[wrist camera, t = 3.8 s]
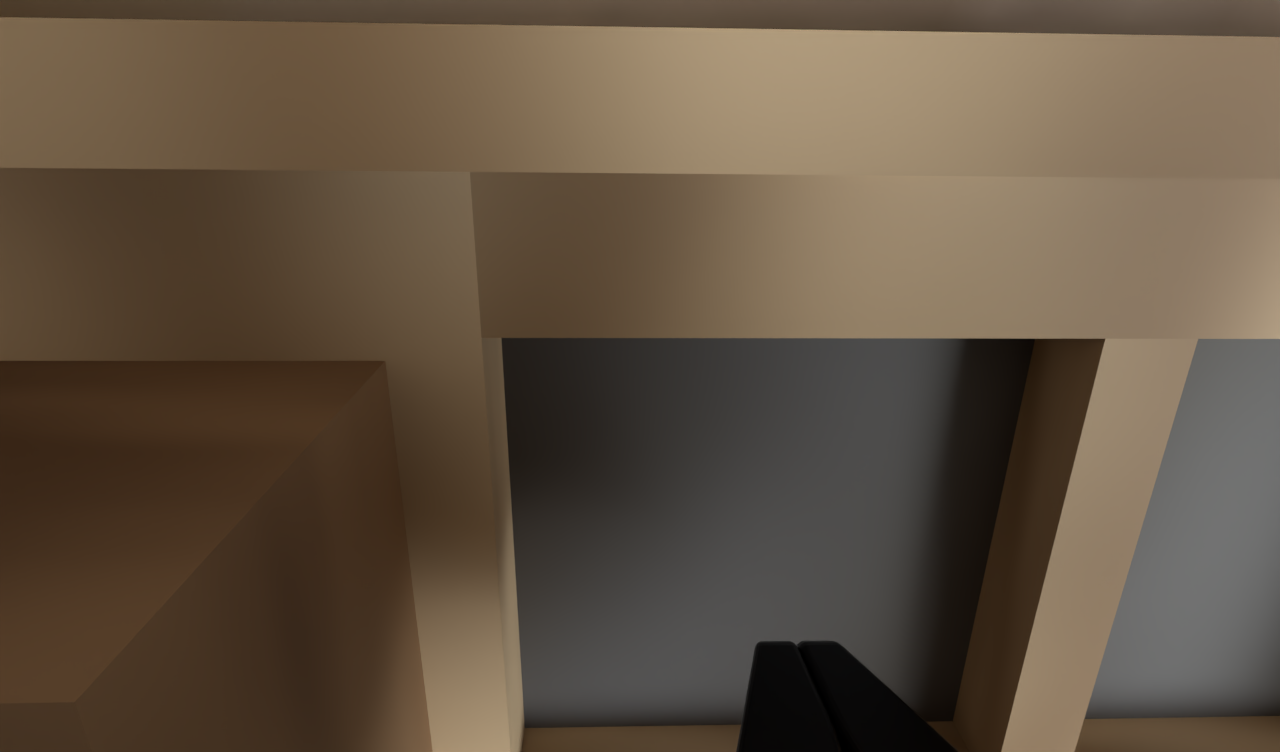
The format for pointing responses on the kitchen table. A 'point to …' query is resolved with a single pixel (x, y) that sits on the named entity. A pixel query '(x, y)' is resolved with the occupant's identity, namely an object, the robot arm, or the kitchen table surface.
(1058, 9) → the kitchen table surface
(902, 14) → the kitchen table surface
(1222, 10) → the kitchen table surface
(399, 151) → the oak tray
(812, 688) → the robot arm
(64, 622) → the walnut block
